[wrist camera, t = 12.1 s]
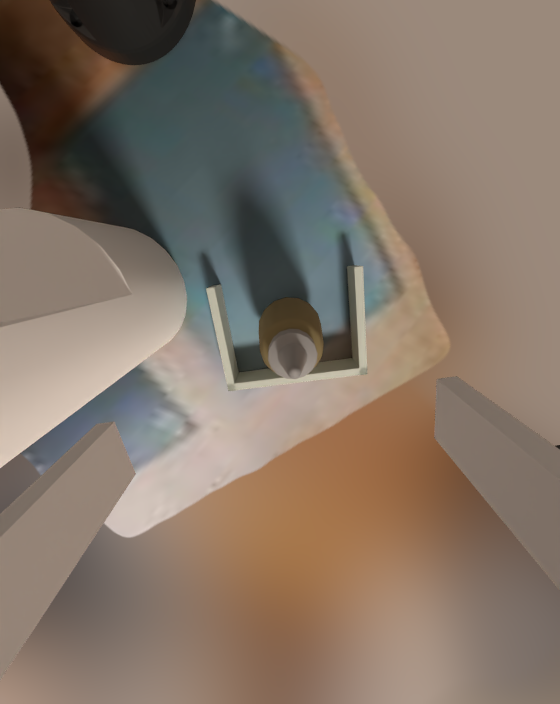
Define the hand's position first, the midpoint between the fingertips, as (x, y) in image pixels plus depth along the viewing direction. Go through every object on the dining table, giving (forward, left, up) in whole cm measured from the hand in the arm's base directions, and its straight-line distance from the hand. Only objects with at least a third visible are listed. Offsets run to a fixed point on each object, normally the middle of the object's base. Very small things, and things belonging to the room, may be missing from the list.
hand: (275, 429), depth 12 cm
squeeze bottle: (+2, +1, -29) cm, 29 cm away
